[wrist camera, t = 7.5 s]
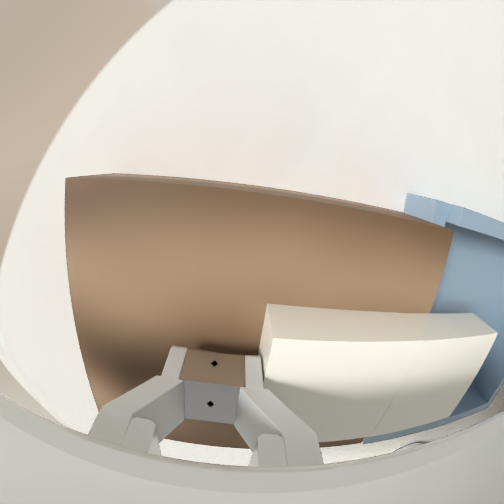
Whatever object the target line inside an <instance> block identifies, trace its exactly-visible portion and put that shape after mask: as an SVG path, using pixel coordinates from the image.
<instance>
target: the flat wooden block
mask: <svg viewBox="0 0 504 504" xmlns="http://www.w3.org/2000/svg"><path fill="white" fill-rule="evenodd" d="M453 234H454V231H453V230H451V229H448V228H446V227H443V226H440V225H437V224H435V223H432V222H429V221H426V220H423V219H421V218H418V217H415V216H412V215H409V214H406V213H403V212H398V211H394V210H389V209H385V208H380V207H376V206H371V205H366V204H361V203H356V202H351V201H346V200H341V199H336V198H330V197H325V196H319V195H313V194H307V193H301V192H295V191H289V190H282V189H275V188H268V187H261V186H254V185H246V184H238V183H230V182H221V181H212V180H202V179H191V178H180V177H167V176H153V175H136V174H115V173H114V174H101V175H90V176H79V177H70V178H66V182H65V242H66V258H67V270H68V279H69V288H70V295H71V302H72V309H73V315H74V320H75V326H76V331H77V336H78V340H79V345H80V349H81V353H82V358H83V362H84V365H85V369H86V373H87V376H88V380H89V383H90V387H91V390H92V393H93V396H94V399H95V402H96V405H97V408H98V411H100V409H101V407H102V406H103V405H105V404H107V403H108V402H110V401H112V400H114V399H116V398H118V397H119V396H121V395H123V394H125V393H127V392H128V391H130V390H132V389H134V388H136V387H137V386H139V385H141V384H143V383H144V382H146V381H148V380H149V379H151V378H153V377H155V376H156V375H157V376H161V375H162V372H163V369H164V366H165V363H166V360H167V358H168V355H169V352H170V349H171V347H172V346H173V345H174V346H180V347H186V348H192V349H199V350H205V351H211V352H218V353H226V354H235V355H254V356H258V351H259V345H260V340H261V335H262V329H263V324H264V319H265V313H266V308H267V303H268V304H278V305H288V306H300V307H312V308H325V309H340V310H356V311H376V312H397V313H430V310H431V308H432V305H433V302H434V299H435V297H436V294H437V291H438V288H439V285H440V282H441V278H442V275H443V272H444V268H445V265H446V261H447V258H448V254H449V250H450V246H451V242H452V238H453ZM184 419H185V420H184V421H182V422H181V423H180V424H179V425H178V426H177V427H176V428H175V429H174V430H173V431H172V432H171V433H170V434H168V435H167V436H166V437H165V438H164V439H170V440H175V441H181V442H187V443H194V444H201V445H210V446H219V447H231V448H246V449H250V448H249V446H248V445H247V444H246V442H245V441H244V439H243V438H242V436H241V435H240V434H239V432H238V431H237V429H236V428H235V426H234V424H227V423H219V422H212V421H203V420H194V419H187V418H184ZM364 438H365V437H364ZM364 438H357V439H349V440H340V441H330V442H318V443H319V447H331V446H341V445H349V444H356V443H361V442H362V441H363V439H364Z"/></svg>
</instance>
